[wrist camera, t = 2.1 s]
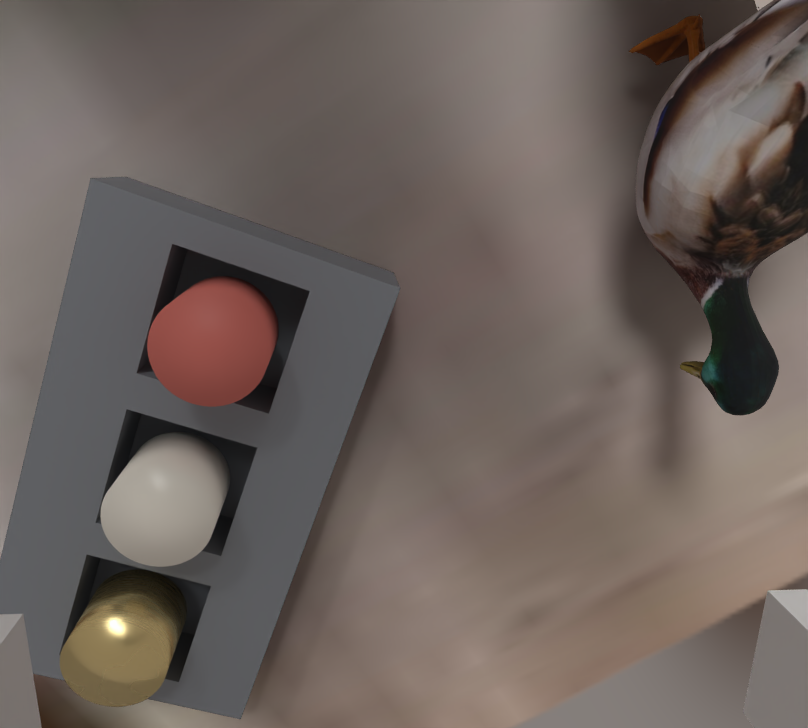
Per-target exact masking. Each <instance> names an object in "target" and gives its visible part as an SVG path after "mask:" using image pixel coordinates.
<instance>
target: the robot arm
mask: <svg viewBox="0 0 808 728" xmlns="http://www.w3.org/2000/svg"><path fill="white" fill-rule="evenodd" d="M743 713H744V715H745V716H746V717H747V719H748V720H749V721H750V723H751V724H752V725H753V727H754V728H808V590H807V589H804V590H772V591H768V592H767V596H766V601H765V606H764V611H763V616H762V621H761V626H760V631H759V636H758V641H757V645H756V650H755V655H754V660H753V665H752V670H751V675H750V680H749V684H748V689H747V694H746V699H745V704H744V709H743ZM0 728H42V727H41V721H40V715H39V709H38V703H37V696H36V690H35V684H34V678H33V671H32V665H31V659H30V653H29V647H28V640H27V634H26V628H25V622H24V615H23V614H0Z"/></svg>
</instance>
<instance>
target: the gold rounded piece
mask: <svg viewBox="0 0 808 728" xmlns="http://www.w3.org/2000/svg"><path fill="white" fill-rule="evenodd" d="M186 617H187V604H186V600H185V597H184V595H183V593H182V592H181V590H180V589H179V588H178V586H177V585H176V584H175V583H174V582H172V581H171V580H170V579H168V578H167V577H165V576H163V575H161V574H159V573H156V572H153V571H148V570H141V569H134V570H126V571H122V572H119V573H116V574H114V575H112V576H110V577H109V578H108V579H106V580H105V581H104V582H103V583H102V584H101V585H100V586H99V587H98V589H97V590H96V592H95V594H94V595H93V597H92V599H91V601H90V602H89V604H88V606H87V607H86V609H85V611H84V612H83V614H82V616H81V617H80V619H79V621H78V622H77V624H76V626H75V627H74V629H73V631H72V633H71V634H70V636H69V638H68V639H67V641H66V643H65V644H64V646H63V648H62V651H61V654H60V670H61V673H62V676H63V678H64V680H65V681H66V683H67V684H68V686H69V687H70V688H71V689H72V690H73V691H74V692H75V693H76V694H78V695H79V696H81V697H82V698H84V699H86V700H88V701H90V702H93V703H95V704H99V705H103V706H111V707H122V706H129V705H133V704H136V703H139V702H142V701H144V700H146V699H147V698H149V697H150V696H152V695H153V694H154V693H155V692H156V691H157V690H158V689H159V688H160V687H161V685H162V683H163V682H164V679H165V677H166V674H167V671H168V668H169V666H170V663H171V660H172V657H173V654H174V652H175V649H176V646H177V643H178V640H179V638H180V635H181V632H182V629H183V626H184V624H185V621H186Z"/></svg>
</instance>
